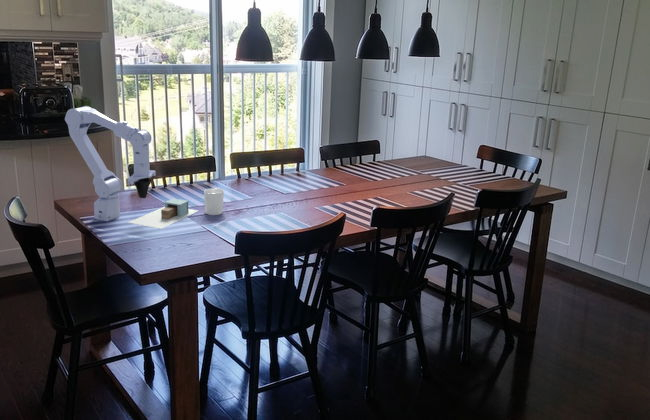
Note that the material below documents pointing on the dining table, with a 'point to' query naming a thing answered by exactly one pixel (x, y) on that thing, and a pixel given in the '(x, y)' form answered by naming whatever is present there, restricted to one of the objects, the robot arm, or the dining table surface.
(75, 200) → the dining table surface
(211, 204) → the white cup
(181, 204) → the teal block
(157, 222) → the board
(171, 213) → the slat
